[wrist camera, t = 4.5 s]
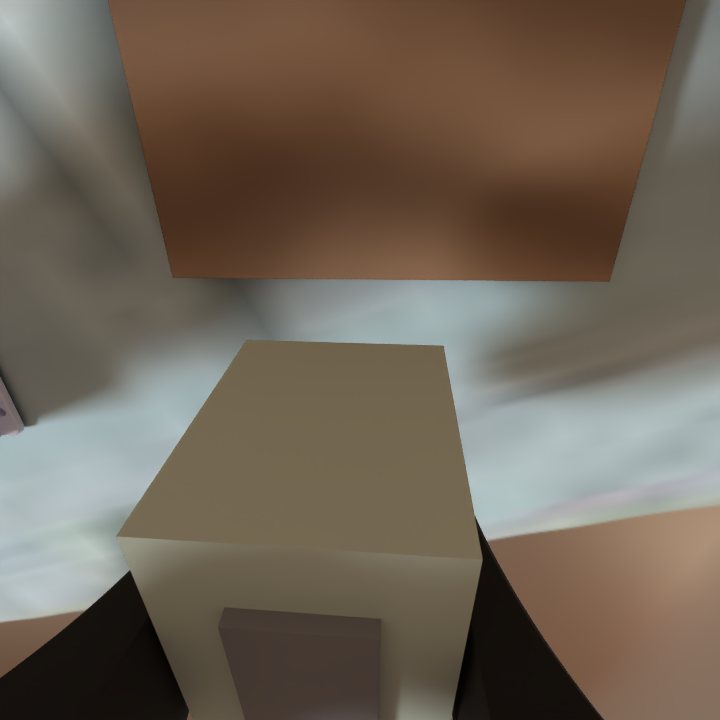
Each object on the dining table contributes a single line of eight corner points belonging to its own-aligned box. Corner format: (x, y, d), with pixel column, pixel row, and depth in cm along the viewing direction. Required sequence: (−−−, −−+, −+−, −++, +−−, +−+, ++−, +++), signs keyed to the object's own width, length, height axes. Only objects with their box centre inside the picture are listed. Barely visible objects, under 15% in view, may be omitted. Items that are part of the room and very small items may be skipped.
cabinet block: (423, 554, 15) (436, 812, 9) (278, 546, 15) (209, 788, 10) (443, 345, 11) (486, 581, 5) (246, 339, 11) (103, 554, 6)
